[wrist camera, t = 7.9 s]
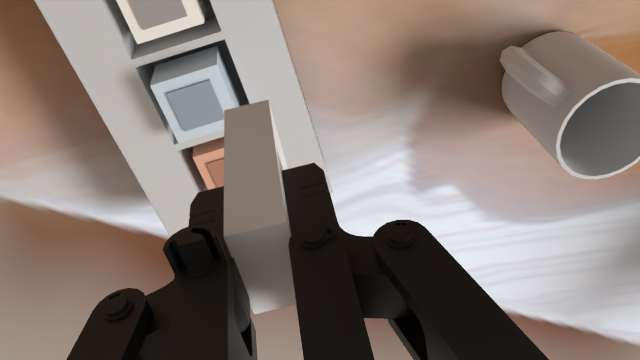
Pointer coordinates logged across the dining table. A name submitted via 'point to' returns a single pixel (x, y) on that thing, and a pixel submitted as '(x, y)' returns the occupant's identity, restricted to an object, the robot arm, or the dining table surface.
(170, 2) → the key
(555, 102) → the cup
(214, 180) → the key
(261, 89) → the keypad
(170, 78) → the key mid
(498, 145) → the dining table surface
